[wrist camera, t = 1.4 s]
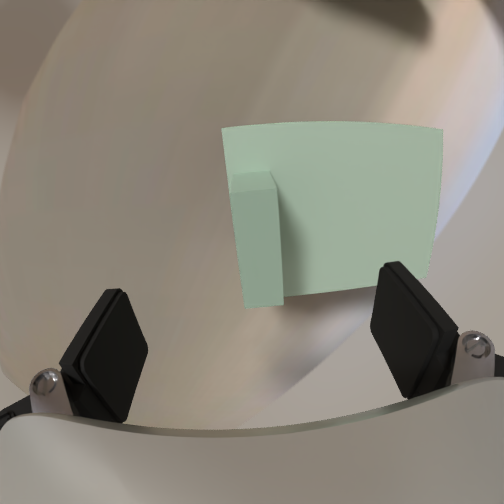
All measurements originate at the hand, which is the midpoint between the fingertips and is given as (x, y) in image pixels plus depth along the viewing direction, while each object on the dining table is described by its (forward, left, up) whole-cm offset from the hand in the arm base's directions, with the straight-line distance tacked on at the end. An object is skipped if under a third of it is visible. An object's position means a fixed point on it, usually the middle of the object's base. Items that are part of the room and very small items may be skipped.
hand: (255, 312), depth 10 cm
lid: (-6, 0, -10) cm, 12 cm away
